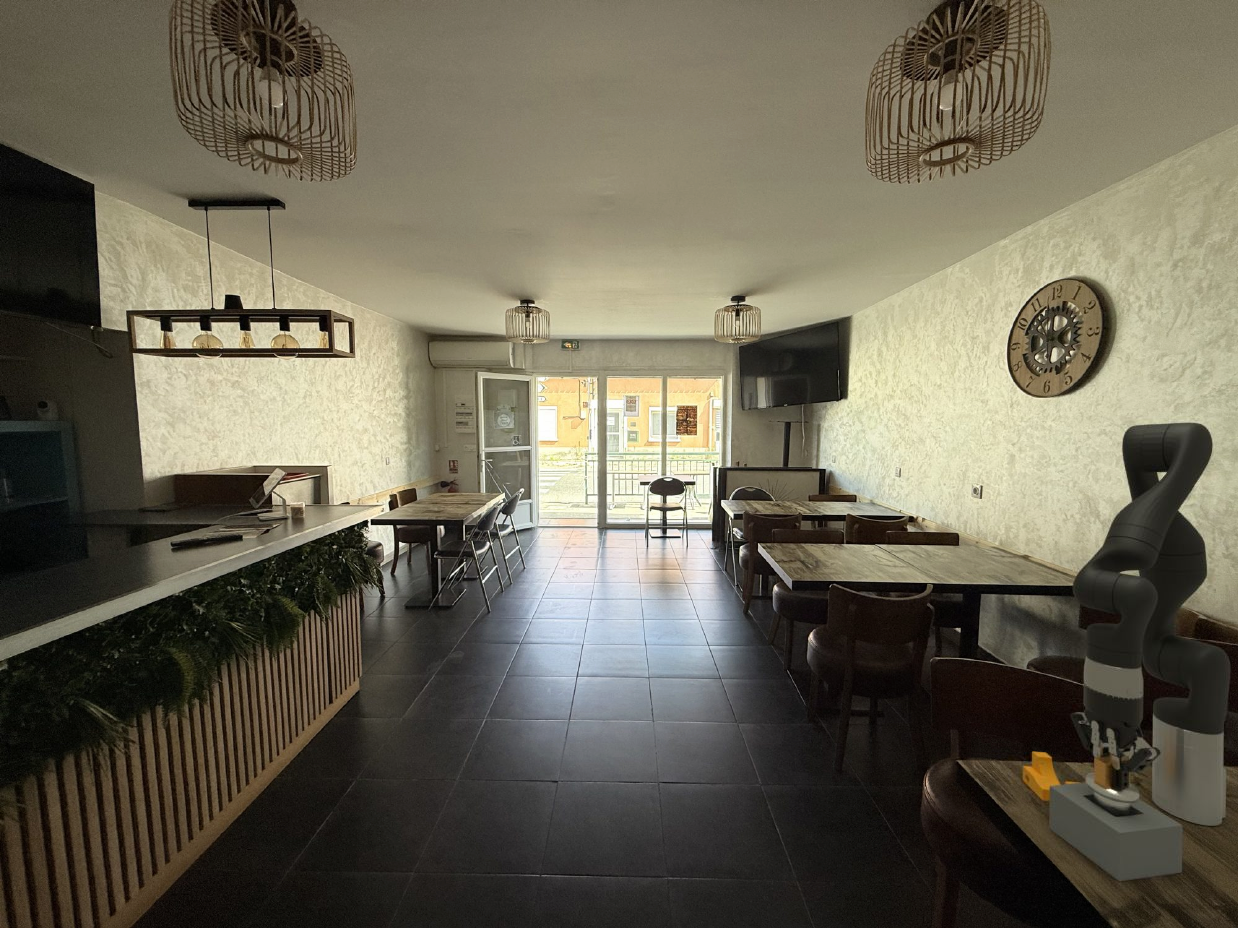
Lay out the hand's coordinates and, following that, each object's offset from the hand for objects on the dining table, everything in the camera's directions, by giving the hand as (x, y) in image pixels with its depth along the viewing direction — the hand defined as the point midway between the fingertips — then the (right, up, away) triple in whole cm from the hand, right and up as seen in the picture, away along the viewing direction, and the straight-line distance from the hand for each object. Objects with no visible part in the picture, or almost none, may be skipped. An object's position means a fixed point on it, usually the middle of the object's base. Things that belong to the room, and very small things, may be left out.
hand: (1111, 783), depth 91 cm
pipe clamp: (+1, -12, +13) cm, 18 cm away
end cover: (0, -4, 0) cm, 4 cm away
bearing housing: (0, -12, 0) cm, 12 cm away
